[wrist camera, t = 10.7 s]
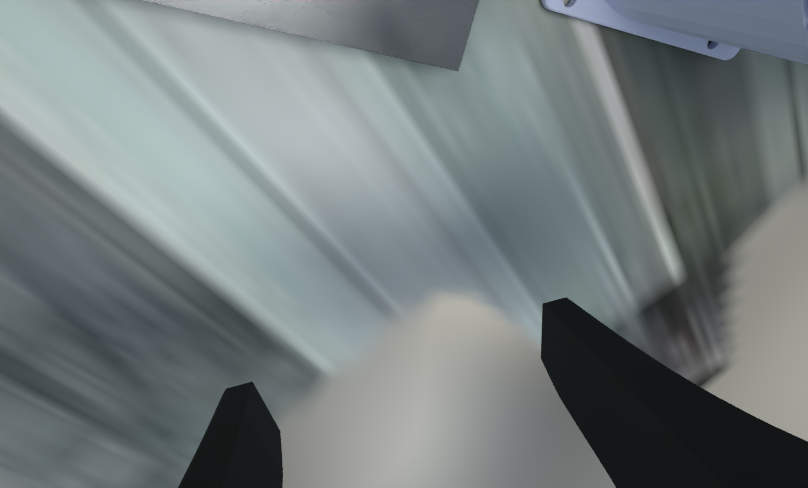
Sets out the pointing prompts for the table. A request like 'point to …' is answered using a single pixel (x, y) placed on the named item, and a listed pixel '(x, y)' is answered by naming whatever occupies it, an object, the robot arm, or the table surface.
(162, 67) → the table surface
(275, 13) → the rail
